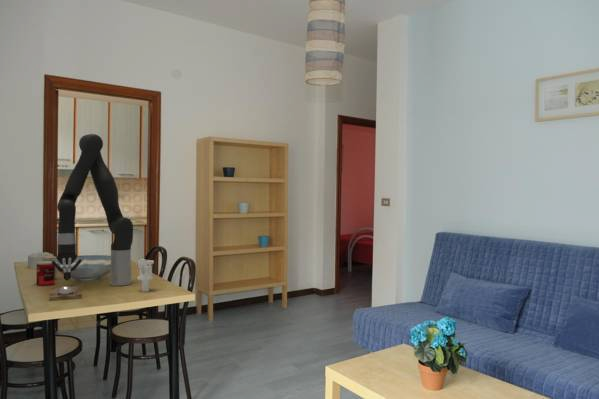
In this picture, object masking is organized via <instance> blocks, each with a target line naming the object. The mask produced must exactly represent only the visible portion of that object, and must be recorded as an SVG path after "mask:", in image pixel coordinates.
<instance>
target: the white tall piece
mask: <svg viewBox="0 0 599 399" xmlns="http://www.w3.org/2000/svg"><path fill="white" fill-rule="evenodd" d="M154 262H155V261H154V260H151V259H145V258H141V259H138V261H137V265H138V268H139V270H138V274H139V275H138V276H137V280H138V281H141V292H145V293H146V292H149V290H150V285H149V284H150V281H151V280H154V275H152V274H153V266H152V265H154Z"/></svg>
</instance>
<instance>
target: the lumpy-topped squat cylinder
mask: <svg viewBox="0 0 599 399" xmlns="http://www.w3.org/2000/svg"><path fill="white" fill-rule="evenodd" d="M45 256H54V254H53V253H50V252H47V251H45V252H39V251H38V252H33V253H31V254H29V255H28V256H27V268H28V267H29V268H28V269H30V268H32V269H31V270H36V269H35V268H37V262H41V261H42V259H43V257H45Z"/></svg>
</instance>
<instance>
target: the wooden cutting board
mask: <svg viewBox="0 0 599 399" xmlns="http://www.w3.org/2000/svg"><path fill="white" fill-rule="evenodd" d="M61 287H62V286H61ZM61 287H51V288H50V292H49V298H48V300H49V301H50V302H53V301H63V300H64V301H65V300H77V299H82V288H81V286H79V285H78V286H70V287H71V289H72V294H71V295H60V294H59V290H60V288H61Z"/></svg>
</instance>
